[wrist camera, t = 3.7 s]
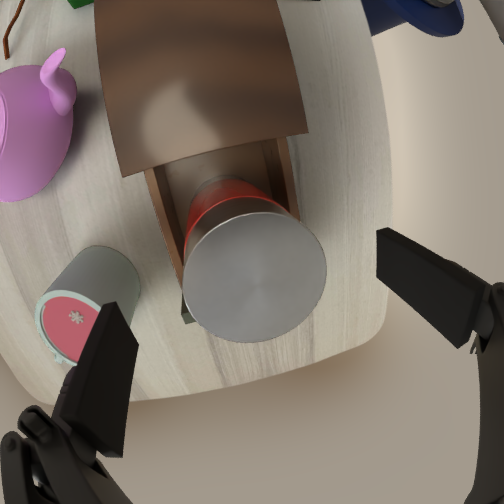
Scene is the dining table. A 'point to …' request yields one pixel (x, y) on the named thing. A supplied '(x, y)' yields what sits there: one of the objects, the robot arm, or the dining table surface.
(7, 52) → the glasses
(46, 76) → the teapot
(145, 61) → the cabinet
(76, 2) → the soya milk
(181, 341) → the dining table surface
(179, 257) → the drawer
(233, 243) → the tin
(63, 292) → the mug
